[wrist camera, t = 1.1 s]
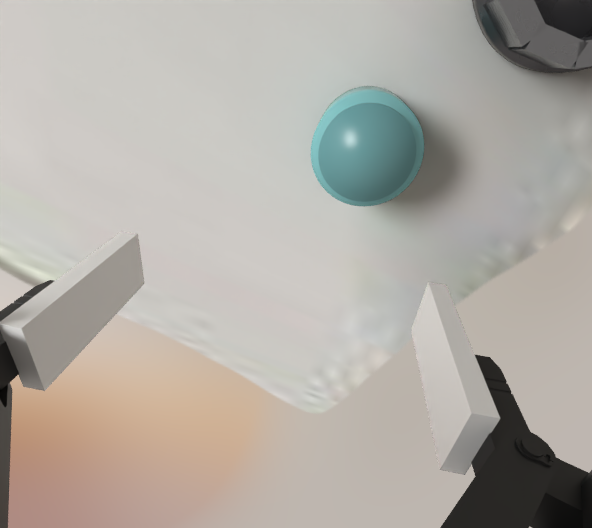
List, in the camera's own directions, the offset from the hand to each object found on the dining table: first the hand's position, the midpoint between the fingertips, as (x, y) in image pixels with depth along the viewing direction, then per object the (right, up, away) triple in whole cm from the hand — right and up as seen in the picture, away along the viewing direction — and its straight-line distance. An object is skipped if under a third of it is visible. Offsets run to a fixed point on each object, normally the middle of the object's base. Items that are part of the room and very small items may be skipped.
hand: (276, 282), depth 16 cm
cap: (+7, +11, +14) cm, 19 cm away
